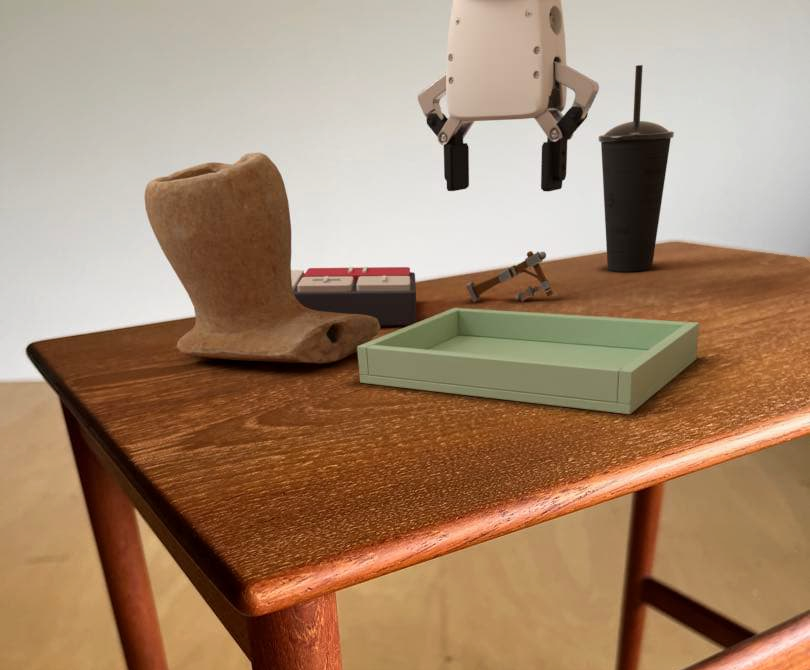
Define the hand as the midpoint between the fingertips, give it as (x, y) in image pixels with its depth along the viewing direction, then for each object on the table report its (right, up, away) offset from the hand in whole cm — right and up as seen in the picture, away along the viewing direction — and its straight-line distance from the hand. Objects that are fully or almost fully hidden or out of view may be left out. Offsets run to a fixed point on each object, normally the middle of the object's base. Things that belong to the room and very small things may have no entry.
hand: (503, 189), depth 82 cm
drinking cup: (+16, -2, +17) cm, 23 cm away
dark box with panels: (-16, -12, +1) cm, 20 cm away
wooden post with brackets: (+1, -9, +4) cm, 10 cm away
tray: (0, -21, -20) cm, 28 cm away
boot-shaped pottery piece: (-20, -18, -12) cm, 30 cm away
